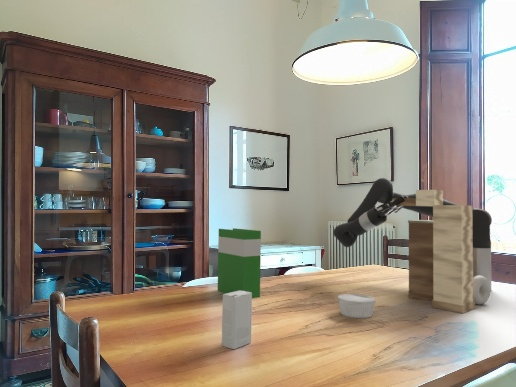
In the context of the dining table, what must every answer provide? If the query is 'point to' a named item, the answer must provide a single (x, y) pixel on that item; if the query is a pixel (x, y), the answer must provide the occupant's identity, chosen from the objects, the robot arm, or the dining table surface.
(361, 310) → the ramekin
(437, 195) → the brown tan long block
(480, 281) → the donut
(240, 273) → the green cereal box
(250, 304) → the skincare box
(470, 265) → the wooden block
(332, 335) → the dining table surface
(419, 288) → the cream-topped wooden box
